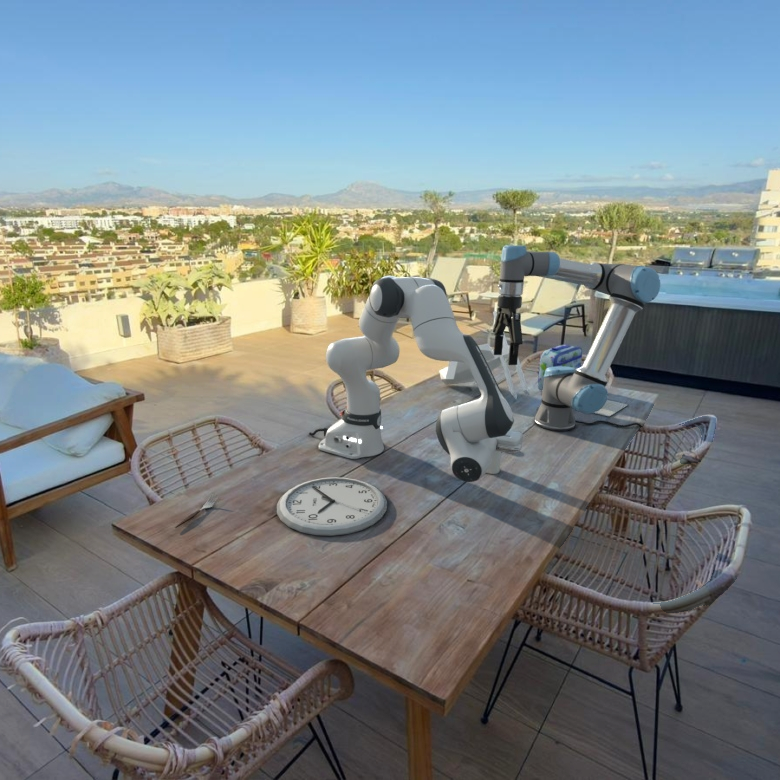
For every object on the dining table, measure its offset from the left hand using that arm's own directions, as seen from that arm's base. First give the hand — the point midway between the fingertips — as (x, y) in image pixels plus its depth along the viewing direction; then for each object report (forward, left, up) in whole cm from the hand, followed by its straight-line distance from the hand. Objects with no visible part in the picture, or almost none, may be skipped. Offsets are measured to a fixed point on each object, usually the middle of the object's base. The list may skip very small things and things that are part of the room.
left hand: (488, 427), depth 148 cm
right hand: (-1, +32, +12) cm, 35 cm away
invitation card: (+34, +93, -19) cm, 101 cm away
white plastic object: (-19, +93, -19) cm, 97 cm away
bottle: (0, +13, -19) cm, 23 cm away
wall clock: (-37, -25, -19) cm, 49 cm away
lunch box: (+15, +112, -19) cm, 115 cm away
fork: (-68, -43, -19) cm, 82 cm away
